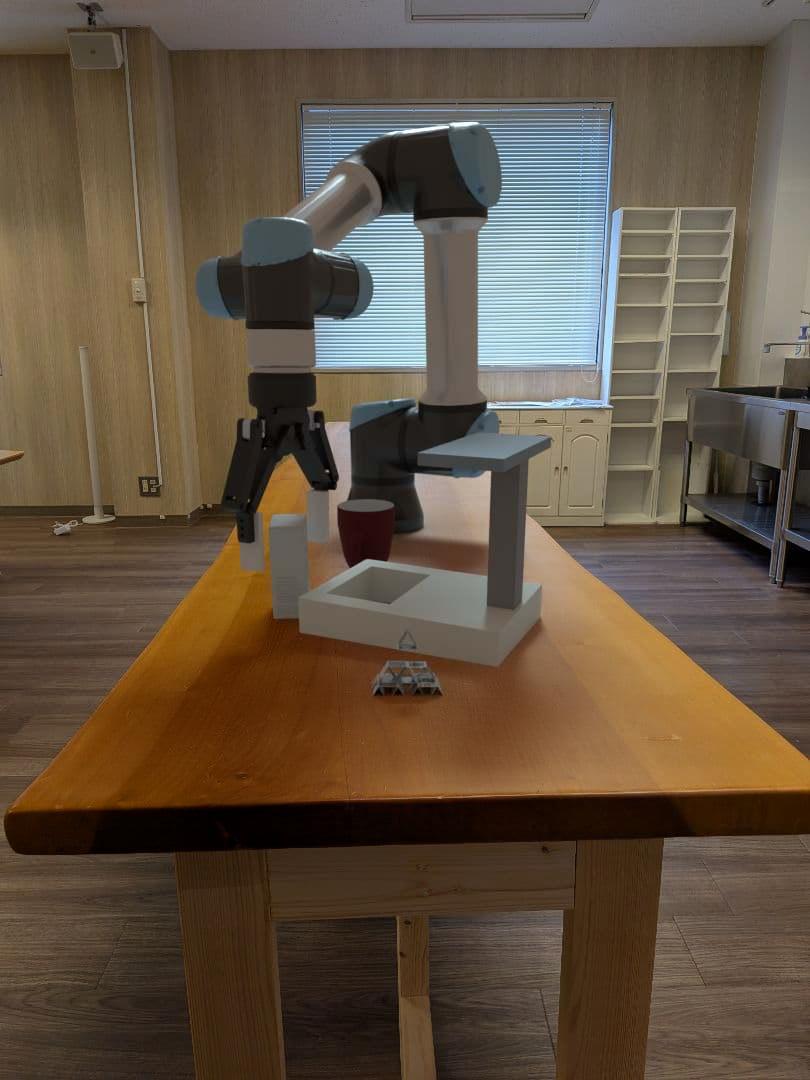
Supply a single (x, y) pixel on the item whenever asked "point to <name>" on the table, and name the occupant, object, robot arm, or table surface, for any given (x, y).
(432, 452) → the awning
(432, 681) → the house of cards
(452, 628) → the socket block
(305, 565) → the skincare box
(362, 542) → the mug
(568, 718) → the table surface
